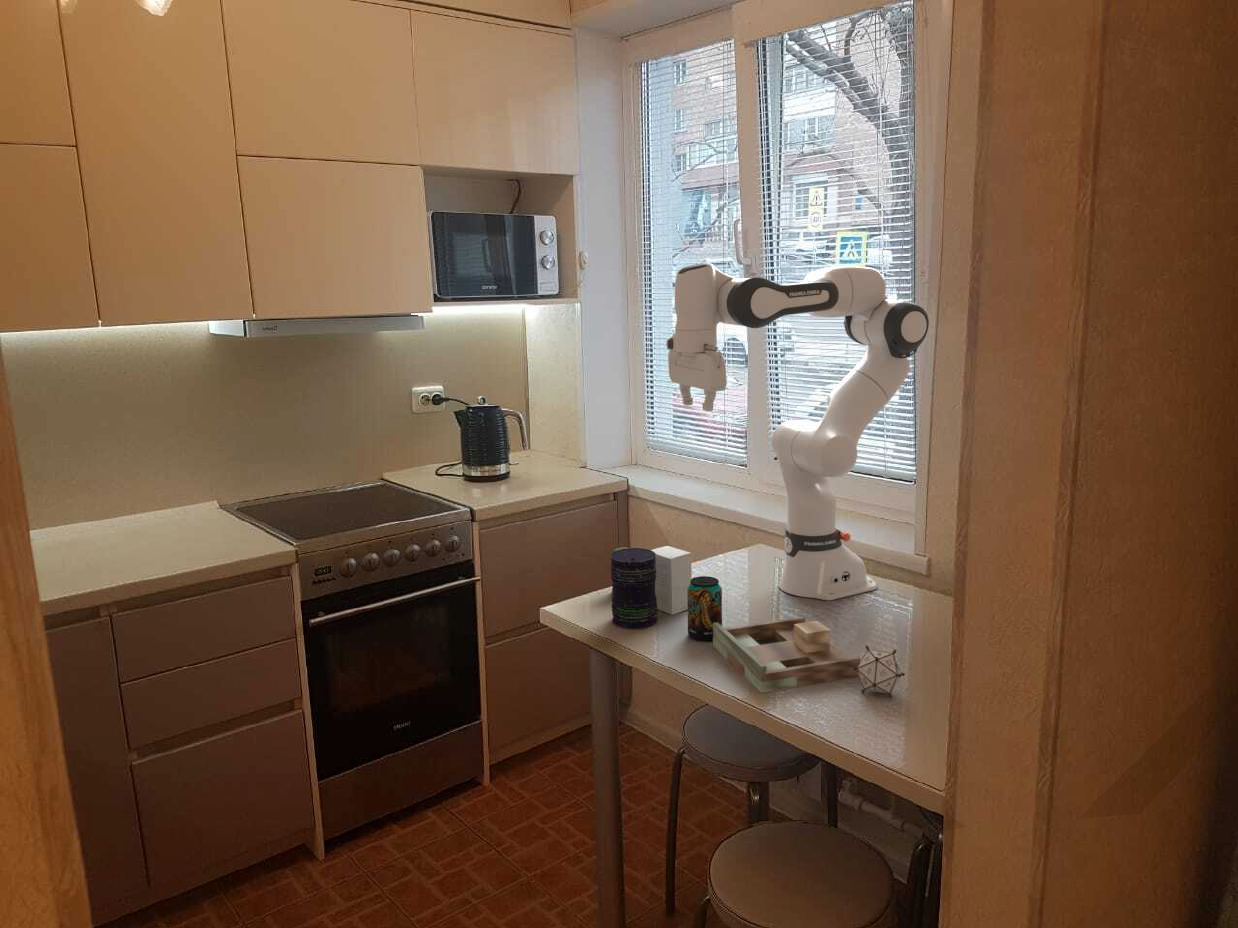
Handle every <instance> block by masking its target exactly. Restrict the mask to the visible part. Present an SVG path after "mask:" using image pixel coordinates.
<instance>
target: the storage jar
mask: <svg viewBox="0 0 1238 928" xmlns="http://www.w3.org/2000/svg"><path fill="white" fill-rule="evenodd" d="M626 548H627V549H621V550H617V551H615V552H613V551H612V553H611V554H610V579H611V582H612V586H613V596H612V595H611V596H612V597H611V612H612V624H613V625H614V626H616V627H618V628H620V629H623V630H624V629H625V630H643V629H644V630H645V629H647V628H650V627H653V626H655V625H656V624H657V623H658V617H657V614H658V609H657V597H656V595H655V580H656V577H657V575H656V571H657V570H656V560H655V559H656V554H655V552H653V551H651V550H652V549H647V548H639V547H637V548H636V547H632V548H630V547H626Z"/></svg>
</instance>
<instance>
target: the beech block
mask: <svg viewBox="0 0 1238 928" xmlns="http://www.w3.org/2000/svg"><path fill="white" fill-rule="evenodd" d="M830 635H831V629H829V628H828V627H827V626H825V625H824V624H822V623H821V622H820V621H818V620H813V621H805V623H798V624H794V644H795V645H797V646H798V647H799V648H800V649H802V650H803V651H804V652H805V653H810V652H817V651H823V650H829V649H830V644H831V642H830V640H831V636H830Z"/></svg>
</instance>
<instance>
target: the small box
mask: <svg viewBox="0 0 1238 928" xmlns="http://www.w3.org/2000/svg"><path fill="white" fill-rule="evenodd" d="M650 550H651V551H653V552H655V554H656V559H655V560H656V570H657V571H656V575H657V577H656V580H655V595H656V597H657V610H659V611H661V612H664V613H666V614H669V615H671V616H673V615H675V614H679V613H681V612H684V611H686V610H687V611H688V601H687V589H688V587H689V585H690V584H691V582H690V581H691V579H693V578H692V577H693V576H692V552H690V551H689V552H688V551H686V550H683V549H679V548H676V547H673V546H669V545H665V546H661V547H657V548H653V549H650Z"/></svg>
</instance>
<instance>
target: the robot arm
mask: <svg viewBox="0 0 1238 928" xmlns="http://www.w3.org/2000/svg"><path fill="white" fill-rule="evenodd" d="M886 292H887V286H886V281H885V278H884V276H883V275H882V273H880V271H878V270H877V269H875V268H873V267H868V266H867V267H866V266H858V265H839V266H829V267H823V268H820V269H819V268H818V269H816V270H814V271H810V272H809V273H808V274H807V275H806V276H805V277H804V279H803V282H795V283H793V282H792V283H785V284H784V283H783V284H779V283H776V282H774V281H771V280H770V279H766V278H762V277H748V278H736V277H734V276H731V275H728V274H726V273H724V272H723V271H721V270H719V269H718V268H716V267H715V266H714V264H712V263H709V262H702V263H696V264H691V265H687V266H684V267H682V268H681V269H680V270H679V271H678V272H677V274H676V278H675V284H674V311H675V314H676V323H675V328H674V329H675V331H674V334H673V335H672V336H670V337H669V338H667V339H666V344H665V345H666V346H665V347H666V350H668V355H667V360H668V375H669V376H668V377H669V378H670V381H671V382H672V383H674V384H679V387H678V388H679V391H680V394H681V397H682V404H683V405H684V406H692V405H693V404H694V399H693V396H692V393H691V388H695V389H700V390H703V394H704V401H703V402H702V411H705V412H712V411H714V402H715V399H716V398H717V397H716V396H717V392H722V391H725V390H726V388H727V385H728V383H727V381H728V379H727V370H726V369H727V368H726V359H725V357H724V355H723V354H722V352H721V351H720V349H719V346H718V325H719V323H722V324H726V325H732V326H740V327H746V328H749V329H760V328H764V327H766V326H769V325H770V324H771V323H773V322H774V321H776V320H778V319H779V318H781V317H784V316H791V315H799V314H807V313H808V315H809V316H811V317H817V318H842V317H843V327H844V330H845V334H846V335H847V336H848V338H850V340H852V341H853V342H855V343H857V344H860V345H863V346H867V349H866V352H865V354H864V356H863V358H862V359H861V361H860V362H858V363H857V364H856V365H855V366H854V367H853V368H852V369H851V370H850V371H849V372H848V374H847V375H845V377H844V378H843V379H842V380H841V381H840V382H839V383H838V384H837V386H836V387H835V388H834V389H833V390H832V391H830V393H829V394H828V396H827V401H826V402H827V407H826V410H825V412H824V414H823V416H822V417H821V419H820V420H819V421H817V422H811V421H806V420H803V419H793V420H787V421H784V422H782V423H780V424H779V425H778V426H776V428H775V429H774V431H773V433H772V436H771V443H770V444H771V448H772V451H773V452H774V455H775V457H776V458H777V460H778V463H779V466H780V467H779V468H780V470H781V474H782V479H783V483H784V487H785V488H784V489H785V494H786V527H785V529H784V553H785V555H784V562H783V563H784V564H783V570H782V573H781V578H780V580H779V584H778V587H779V589H780V590H781V591H783V592H784V593H787V594H790V595H794V596H797V597H803V598H814V599H818V600H824V601H834V600H837V599H841V598H846V597H849V596H854V595H857V594H858V595H859V594H862V593H866V592H871V591H875V590H877V583H876V581H875V580H874V579H873V578H872V577H870V576H868V575H867V570H866V565H865V562H864V561H863V559H862V558H861V557H860V556H859V555H857V554H856V553H854V552H853V551H852V550H851V549H849V548H848V547H846V546H845V545H844V544H843V543H842V541H843V542H846V543H847V542H849V541H850V540H851V538H852V537H851V534H850V533H849V532H846V531H841V530H839V529H837V528H836V517H837V516H836V515H837V514H836V512H837V508H836V507H837V499H836V496H835V493H834V490H833V489H832V488H831V486H830V483H829V480H828V478H841V477H844V476H846V475H847V474H849V473H850V472H851V471H852V470H853V468H854V467H855V465H856V463H857V459H858V448H857V446H858V442H859V441H860V439H861V436H862V435H863V433H864V431H865V429H866V428H867V427H868V425H869V424H870V423H871V422H872V421H873V419H875V418H876V416H877V415H878V414H879V413H880V411H882V409H883V408H885V406H886V405H887V404H888V403H889V402H890V400H891V399H892V398H893V397H894V396H895V394H896V393H897V392H898V391H899V389H900V388H901V387H902V385H903V383H904V382H905V381H906V378H907V377H908V375H909V373H910V371H911V370H910V369H911V368H910V367H911V364H910V361H909V359H908V358H909V357H911V356H913V355H915V354H916V353H917V351H918V348H919V347H920V346H921V345H922V343H924V340H925V338H926V336H927V333H928V330H929V326H930V321H929V315H928V313H927V311H926V310H925V309H924V308H923V307H922V306H920V305H918V304H916V303H914V302H911V301H906V300H905V301H902V300H896V299H891V298H888V297H887V296H886V295H887V294H886Z"/></svg>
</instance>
